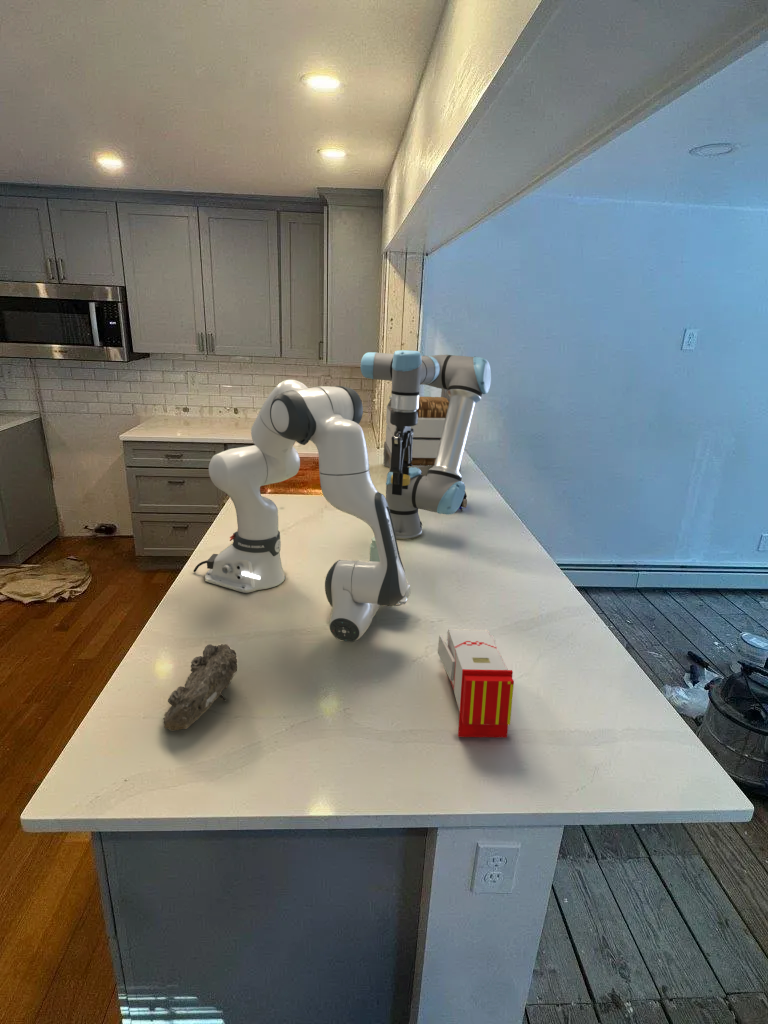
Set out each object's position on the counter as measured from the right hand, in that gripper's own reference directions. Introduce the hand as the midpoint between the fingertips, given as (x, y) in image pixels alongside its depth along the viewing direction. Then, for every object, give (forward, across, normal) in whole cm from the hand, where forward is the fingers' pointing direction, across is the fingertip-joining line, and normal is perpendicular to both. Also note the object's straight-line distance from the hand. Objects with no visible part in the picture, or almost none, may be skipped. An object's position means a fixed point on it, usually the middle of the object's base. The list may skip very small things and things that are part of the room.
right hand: (400, 491), depth 161 cm
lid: (-4, 0, 0) cm, 4 cm away
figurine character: (+26, -68, +5) cm, 73 cm away
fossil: (+25, +69, -18) cm, 76 cm away
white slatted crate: (+26, -110, -22) cm, 115 cm away
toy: (+26, +48, +31) cm, 62 cm away
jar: (+26, +17, 0) cm, 31 cm away
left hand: (+19, +16, 0) cm, 25 cm away
